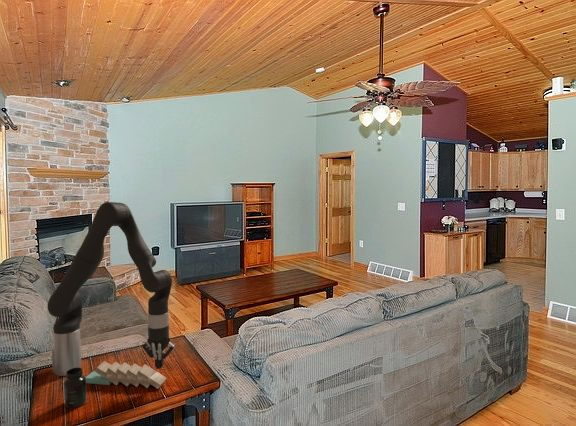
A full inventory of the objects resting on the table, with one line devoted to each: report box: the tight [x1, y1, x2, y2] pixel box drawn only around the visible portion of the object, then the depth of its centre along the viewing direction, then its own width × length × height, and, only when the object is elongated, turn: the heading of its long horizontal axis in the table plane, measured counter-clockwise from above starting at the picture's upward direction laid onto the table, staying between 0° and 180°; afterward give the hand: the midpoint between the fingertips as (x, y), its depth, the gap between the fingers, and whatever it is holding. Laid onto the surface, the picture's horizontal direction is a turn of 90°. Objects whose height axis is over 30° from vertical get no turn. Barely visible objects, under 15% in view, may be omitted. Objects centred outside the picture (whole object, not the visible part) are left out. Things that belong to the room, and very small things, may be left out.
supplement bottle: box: [62, 367, 88, 410], centre depth 130 cm, size 7×7×12 cm
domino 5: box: [126, 363, 152, 389], centre depth 143 cm, size 2×5×10 cm
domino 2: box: [94, 360, 121, 386], centre depth 145 cm, size 2×5×10 cm
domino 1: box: [85, 370, 113, 386], centre depth 146 cm, size 2×5×10 cm
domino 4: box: [115, 361, 141, 388], centre depth 144 cm, size 2×5×10 cm
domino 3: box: [106, 361, 132, 387], centre depth 144 cm, size 2×5×10 cm
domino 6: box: [136, 364, 167, 390], centre depth 143 cm, size 2×5×10 cm
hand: (159, 367), depth 142 cm, fingers closed
